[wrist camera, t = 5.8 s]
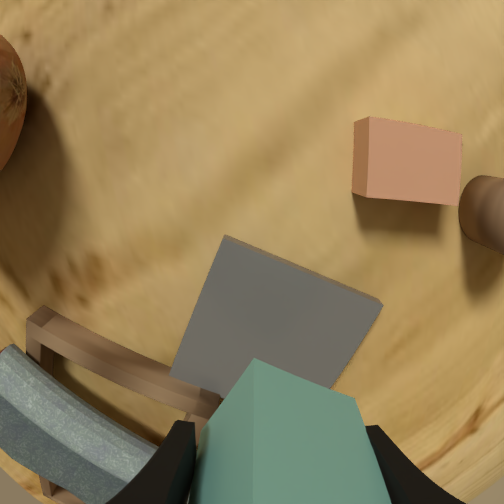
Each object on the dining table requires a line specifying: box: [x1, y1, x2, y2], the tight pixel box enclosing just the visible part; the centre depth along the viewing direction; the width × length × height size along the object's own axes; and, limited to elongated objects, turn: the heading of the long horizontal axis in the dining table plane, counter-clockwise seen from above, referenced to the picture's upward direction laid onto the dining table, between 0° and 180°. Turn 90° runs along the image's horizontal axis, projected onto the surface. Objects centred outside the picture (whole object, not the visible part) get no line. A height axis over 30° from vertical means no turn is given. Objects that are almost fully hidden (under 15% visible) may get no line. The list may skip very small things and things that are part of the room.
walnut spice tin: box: [459, 175, 504, 255], centre depth 13 cm, size 4×4×4 cm
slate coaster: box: [169, 235, 383, 399], centre depth 17 cm, size 9×9×1 cm
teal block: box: [188, 358, 392, 504], centre depth 9 cm, size 4×4×6 cm
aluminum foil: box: [0, 344, 190, 504], centre depth 14 cm, size 23×7×3 cm
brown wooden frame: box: [26, 305, 220, 504], centre depth 20 cm, size 12×27×2 cm, turn 157°
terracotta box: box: [352, 116, 462, 206], centre depth 14 cm, size 5×4×2 cm
